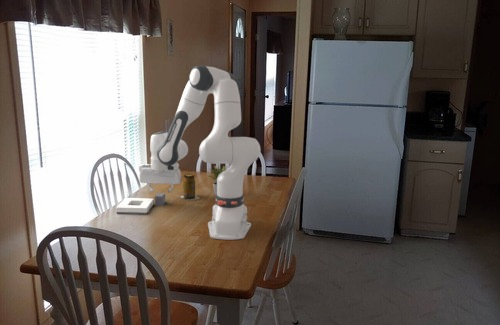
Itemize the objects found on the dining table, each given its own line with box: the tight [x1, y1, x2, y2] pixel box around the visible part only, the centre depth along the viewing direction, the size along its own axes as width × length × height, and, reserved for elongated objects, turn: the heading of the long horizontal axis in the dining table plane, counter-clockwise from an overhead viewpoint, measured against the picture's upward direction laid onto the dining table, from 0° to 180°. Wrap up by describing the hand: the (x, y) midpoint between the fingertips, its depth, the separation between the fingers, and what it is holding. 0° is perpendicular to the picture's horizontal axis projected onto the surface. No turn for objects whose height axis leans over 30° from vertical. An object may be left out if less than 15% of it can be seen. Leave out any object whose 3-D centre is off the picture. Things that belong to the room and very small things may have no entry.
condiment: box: [179, 173, 200, 201], centre depth 228 cm, size 7×8×12 cm
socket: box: [115, 197, 155, 215], centre depth 211 cm, size 14×14×3 cm
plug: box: [154, 192, 166, 207], centre depth 219 cm, size 5×4×5 cm
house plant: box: [207, 165, 228, 196], centre depth 232 cm, size 14×14×16 cm
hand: (160, 191), depth 219 cm, fingers open, 8 cm apart
